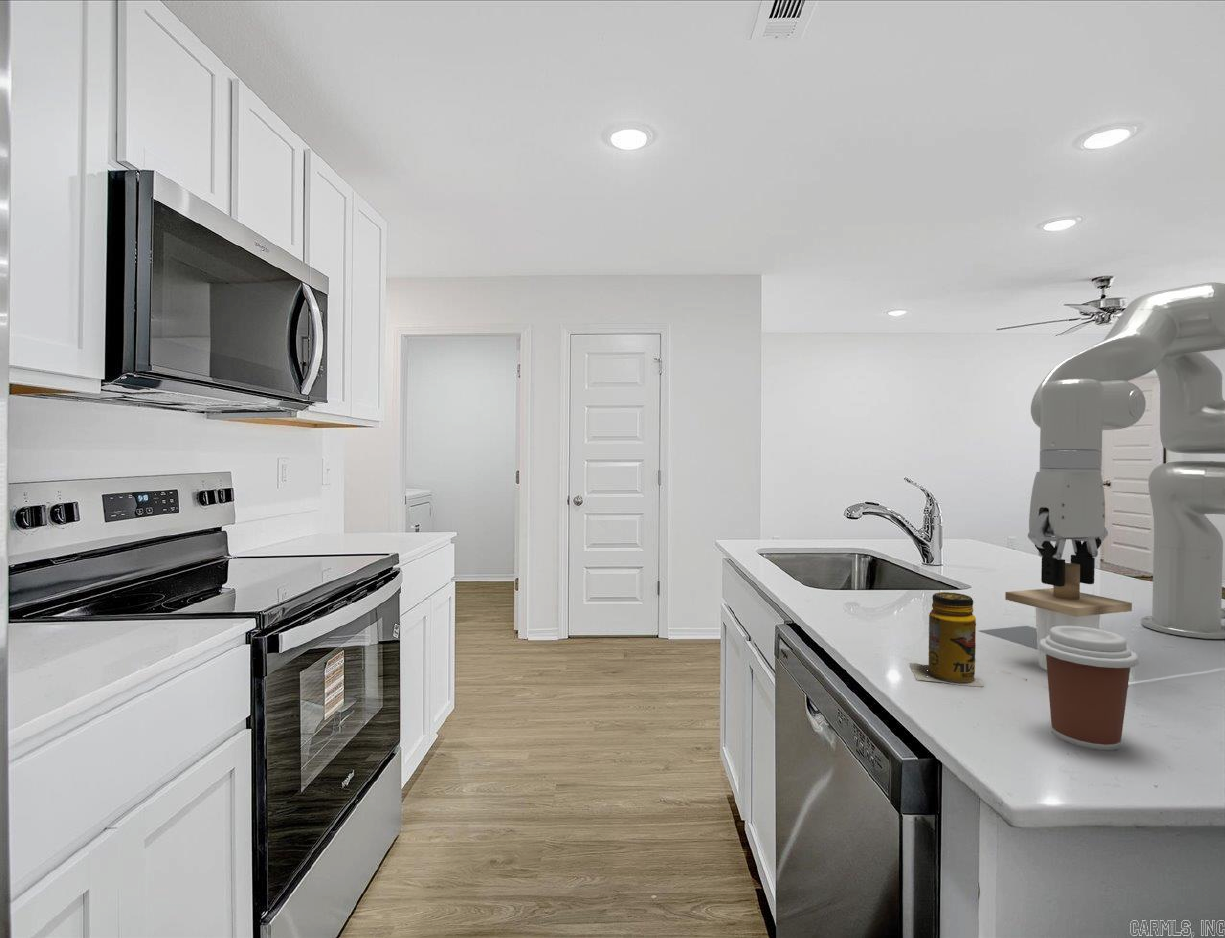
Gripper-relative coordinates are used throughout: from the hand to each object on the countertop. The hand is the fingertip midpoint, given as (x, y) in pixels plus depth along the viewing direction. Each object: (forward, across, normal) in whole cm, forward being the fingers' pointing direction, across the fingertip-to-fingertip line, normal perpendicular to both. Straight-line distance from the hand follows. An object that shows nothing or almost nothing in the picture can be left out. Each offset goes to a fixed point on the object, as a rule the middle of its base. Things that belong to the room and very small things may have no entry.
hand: (1067, 582), depth 94 cm
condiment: (+14, +19, -4) cm, 24 cm away
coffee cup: (+14, +20, +17) cm, 30 cm away
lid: (+3, 0, 0) cm, 3 cm away
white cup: (+14, 0, 0) cm, 14 cm away
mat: (+13, -11, -14) cm, 22 cm away
